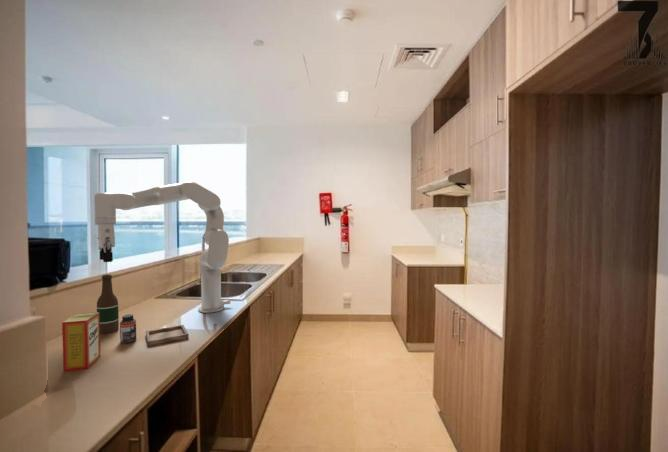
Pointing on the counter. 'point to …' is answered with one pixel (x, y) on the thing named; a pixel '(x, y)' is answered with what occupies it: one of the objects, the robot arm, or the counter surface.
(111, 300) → the beer bottle
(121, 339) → the supplement bottle
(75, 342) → the baking soda box
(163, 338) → the walnut tray
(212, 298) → the robot arm
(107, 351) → the counter surface
